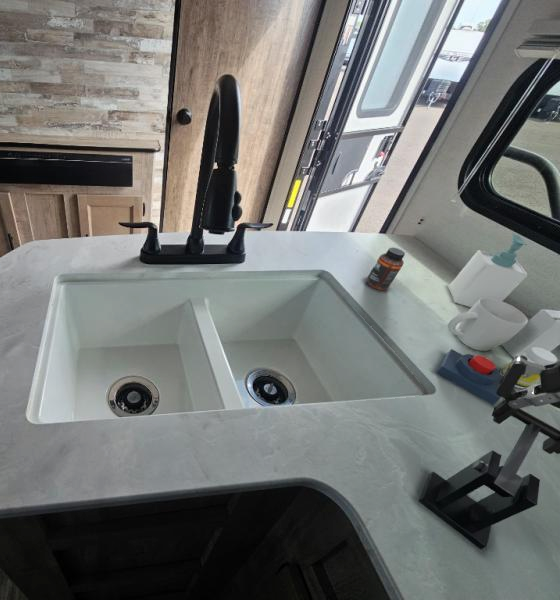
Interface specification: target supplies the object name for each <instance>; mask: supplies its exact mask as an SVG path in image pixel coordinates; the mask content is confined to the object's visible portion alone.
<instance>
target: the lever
mask: <svg viewBox="0 0 560 600" xmlns="http://www.w3.org/2000/svg"><path fill="white" fill-rule="evenodd" d="M511 417H513V418H514V419H516V420H518V421H520V422H521V423H523V424H525V426H524V428H523V430H522V432H521V433H520V436H519V437H518V439H517V440H516V442H515V444H514V446H513V448H512V449H511V451H510V453H509V455H507V456H508V457H507V458H506V460H505V462H504V464H503V465H499V469H498V473H497V478H496V479H494V480H492V481H490V482H489V483H487V484H485V485H484V486H485V487H487V488H488V489H490V490H491V491H493V493H495V492H496V493H497V494H498V495H500V496H501V497H514V496H515V495H516V493H517V491H518V489H519V487H520V486H521V484H522V482H523V480H524V479H523V477H522V476H520V475H519V474H518V472H519V470H520V468H521V466H522V464H523V462H524V460H525V459H526V457H527V455H528V453H529V451H530V450H531V448H532V446H533V444H534V442H535V441H536V439H537V437H538V436H539V434H540V433H541V434H542V435H544V436H546V437H548V438H551V439H553V440H555V441H557V440H559V439H560V430H559V429H558V428H556V427H554V426H552V425H550V424H549V423H547V422H546V421H543V420H541V419H540V418H538V417H536V416H534V415H533V414H530V413H529V412H527V411H525V410H523V409H522V408H519V409H518V412H516V413H515V414H513V415H512V416H511Z"/></svg>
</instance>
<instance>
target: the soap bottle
mask: <svg viewBox="0 0 560 600" xmlns="http://www.w3.org/2000/svg"><path fill="white" fill-rule="evenodd" d="M523 246H528V243H526V242H525V241H524V239H522V238H521V236H520V235H519V234H516V233H513V232H512V233H511V245H509V249H503V250H502V251H500V252H496V253H494V252H490V251H487V250H482V249H478V250H477V251H476V252H475V253H474V254H473V256H472V257H471V258H470V259H469V260H468V261H467V263H466V264H465V266H464V267H463V268H462V269H461V270H460V272H458V274H457V275H456V277H454V279H453V280H452V281H451V282H450V284H449V285H448V289H449V293H450V294H451V297H452V300H453V302H454V303H455V304H459V305H462V306H466V307H469V308H472V307H473V305H474V304H475V303H476V302H477V301H478V300H480V299H482V298H491V299H496V300H499V301H502V302H504V300H505V299H506V298H507V297H508V296H509V295H510V294H511V293H512V292H513V291H514V290H515V289H516V288H517V287H518V286H519V285H520V284H521V283H522V282H523V281H524V280H525V279H526V277H528V275H529V274H528V272H527V271H526V270H525V268H524V267H523V266H522V265H521V263H520V262H519V261H518V260H517V259H516V257H517V256H518V254H517V253H516V252H517V251H519V250H520V249H521V248H522V247H523Z"/></svg>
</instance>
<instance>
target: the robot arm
mask: <svg viewBox="0 0 560 600" xmlns="http://www.w3.org/2000/svg"><path fill="white" fill-rule="evenodd" d="M510 363H511V364H510ZM510 363H509V364H510V366H509V367H508V369H507V370H506V372H505V374H504V375H503V377H502V379H501V380H500V382H499V384H498V388H497V391H496V393H497V395H498V396H500V398H503V400H502V401H501V402H499V403H498V404H496V405H495V406H494V407H493V409H492V413H491V417H493V418H492V421H493V422H494V423H496V424H498V425H500V424H502V423H503V422H505V421H506V420H508V419H510V417H513V416H512V415H513V414H515V413H516V412H518V409H519V408H520V409H524V408H528V407H532V406H534V407H541V406H545V405H550V406H551V407H554V408H557V409H560V360H557V362H556V363H553V364H548V365H545V366H542V365H539V364H536V363H533V362H530V361H527V358H526V357H525V356H523V355H517V356H515V357H513V359H512V361H511V362H510ZM533 374H539V375H540V378H539V379H540V382H537V383H533V384H531V385H529V386H528V387H527V388H521V389H519V390H515V389H514V388H515V387H514V386H515V385H516V383H517V382H518V380H519V379H520V377H523V378H526V377H530V376H531V375H533ZM541 448H542V449H541V450H542V451H544V452H545V453H547V454H548V455H551V454H553V453H554V454H556V455H560V439H559V440H557V441H555V440H553V439H551V438H550V437H548V438H546V439H545V440H544V441H543V443H542V447H541Z"/></svg>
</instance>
